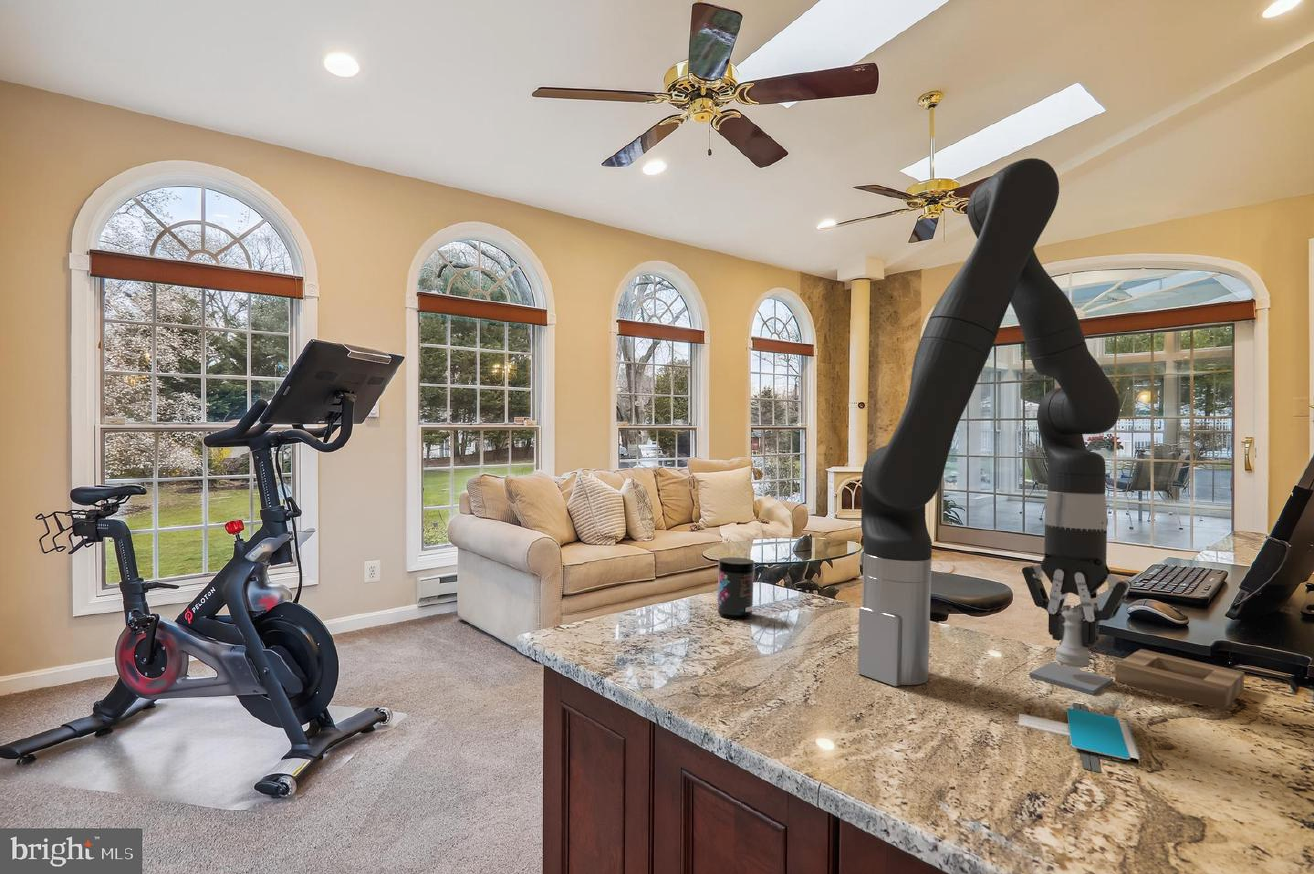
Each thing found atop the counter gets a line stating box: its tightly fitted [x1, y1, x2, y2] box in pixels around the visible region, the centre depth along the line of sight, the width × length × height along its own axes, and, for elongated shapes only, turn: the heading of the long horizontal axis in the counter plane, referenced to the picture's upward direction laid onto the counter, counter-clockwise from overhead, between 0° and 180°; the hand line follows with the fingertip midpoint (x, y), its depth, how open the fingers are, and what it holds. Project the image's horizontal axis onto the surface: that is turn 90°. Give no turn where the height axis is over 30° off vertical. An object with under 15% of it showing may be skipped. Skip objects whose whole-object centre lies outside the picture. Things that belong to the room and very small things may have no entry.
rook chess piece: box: [1054, 604, 1092, 668], centre depth 92 cm, size 4×4×8 cm
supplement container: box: [717, 556, 755, 620], centre depth 121 cm, size 7×7×10 cm
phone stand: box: [1018, 702, 1145, 773], centre depth 74 cm, size 20×12×2 cm, turn 149°
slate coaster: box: [1028, 661, 1114, 696], centre depth 92 cm, size 8×8×1 cm
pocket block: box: [1114, 648, 1245, 711], centre depth 91 cm, size 12×12×2 cm
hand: (1073, 642), depth 92 cm, fingers closed on rook chess piece, 3 cm apart
